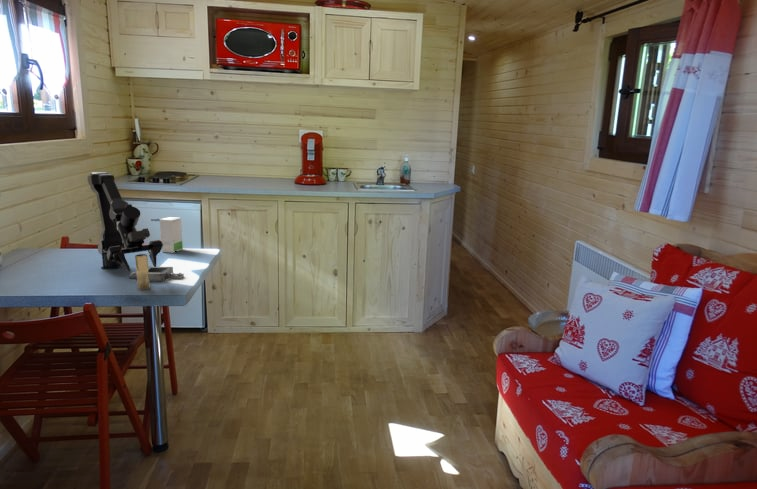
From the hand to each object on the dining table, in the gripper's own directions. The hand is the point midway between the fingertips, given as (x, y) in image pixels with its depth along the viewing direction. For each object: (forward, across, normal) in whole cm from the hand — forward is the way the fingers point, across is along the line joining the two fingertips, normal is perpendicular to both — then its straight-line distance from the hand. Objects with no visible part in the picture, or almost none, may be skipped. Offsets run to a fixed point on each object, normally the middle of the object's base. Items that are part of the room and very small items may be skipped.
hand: (142, 269), depth 188 cm
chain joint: (-2, +9, +12) cm, 15 cm away
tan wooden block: (+5, 0, +6) cm, 8 cm away
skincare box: (-27, +30, +38) cm, 56 cm away
